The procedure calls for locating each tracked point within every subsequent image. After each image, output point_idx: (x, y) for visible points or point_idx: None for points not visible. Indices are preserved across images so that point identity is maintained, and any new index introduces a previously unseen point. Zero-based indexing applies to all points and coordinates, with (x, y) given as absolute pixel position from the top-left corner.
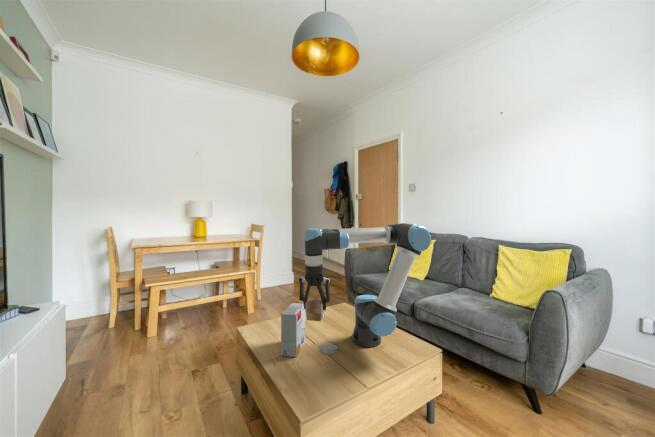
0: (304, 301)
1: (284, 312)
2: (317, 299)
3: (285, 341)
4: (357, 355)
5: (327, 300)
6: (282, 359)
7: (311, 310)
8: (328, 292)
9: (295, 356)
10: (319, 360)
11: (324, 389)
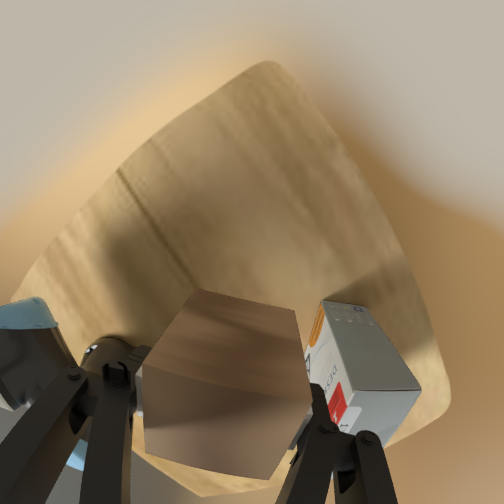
0: (327, 423)
1: (406, 409)
2: (188, 438)
3: (368, 326)
4: (135, 304)
5: (72, 377)
6: (361, 289)
7: (252, 339)
8: (17, 423)
9: (323, 301)
10: (244, 285)
11: (222, 147)
